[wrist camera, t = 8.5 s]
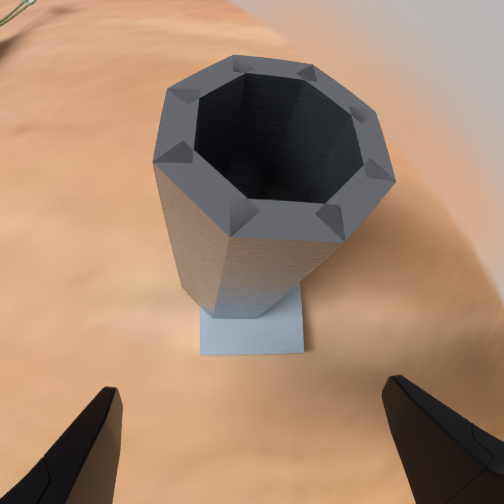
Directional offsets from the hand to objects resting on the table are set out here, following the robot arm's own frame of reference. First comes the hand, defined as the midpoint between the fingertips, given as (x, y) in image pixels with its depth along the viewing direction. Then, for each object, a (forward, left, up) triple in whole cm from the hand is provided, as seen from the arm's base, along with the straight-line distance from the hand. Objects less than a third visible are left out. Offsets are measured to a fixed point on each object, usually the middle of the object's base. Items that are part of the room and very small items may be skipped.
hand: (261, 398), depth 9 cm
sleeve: (+5, -4, -8) cm, 11 cm away
